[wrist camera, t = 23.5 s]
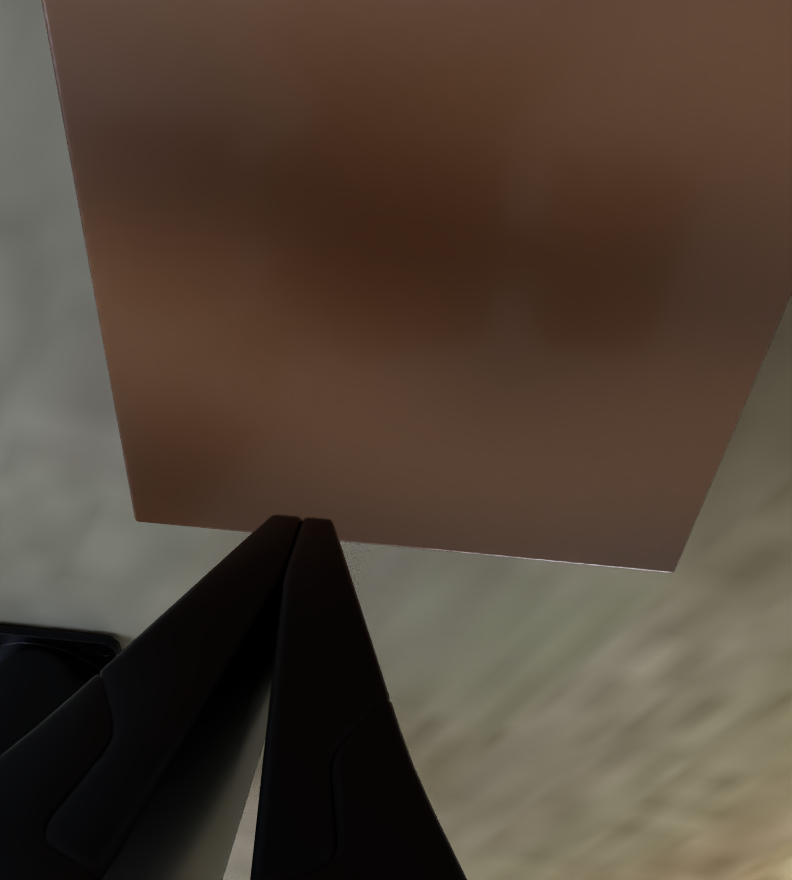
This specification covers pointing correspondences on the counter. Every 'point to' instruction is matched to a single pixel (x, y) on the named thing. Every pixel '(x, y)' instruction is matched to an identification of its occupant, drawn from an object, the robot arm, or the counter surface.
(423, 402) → the lid
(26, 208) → the counter surface
